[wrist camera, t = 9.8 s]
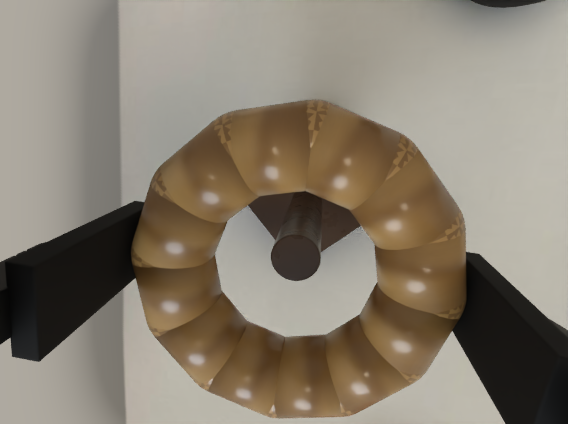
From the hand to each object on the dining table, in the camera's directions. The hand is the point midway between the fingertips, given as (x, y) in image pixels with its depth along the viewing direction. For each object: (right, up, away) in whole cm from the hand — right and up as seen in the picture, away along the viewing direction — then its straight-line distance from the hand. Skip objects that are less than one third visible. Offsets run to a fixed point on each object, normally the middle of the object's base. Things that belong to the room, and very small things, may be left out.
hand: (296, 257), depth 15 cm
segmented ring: (0, 0, -1) cm, 1 cm away
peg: (+1, +3, +12) cm, 13 cm away
